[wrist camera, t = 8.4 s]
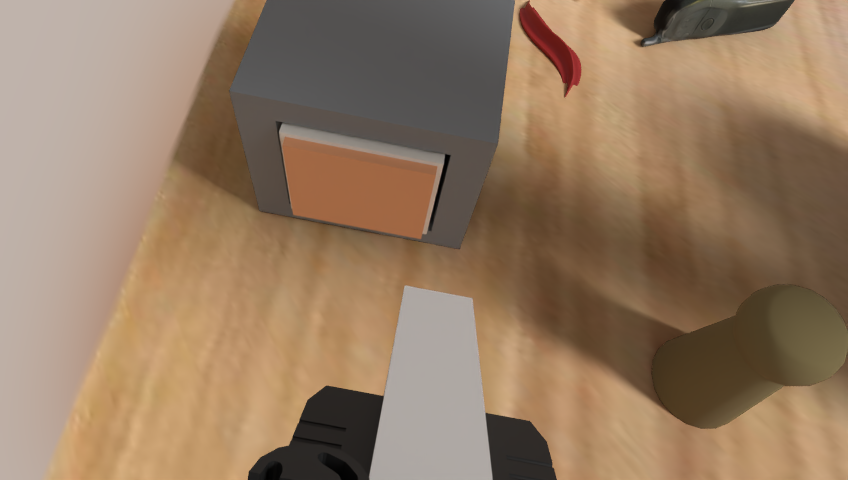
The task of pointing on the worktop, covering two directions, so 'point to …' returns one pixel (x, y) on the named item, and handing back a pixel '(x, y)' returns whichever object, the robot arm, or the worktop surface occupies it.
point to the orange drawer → (360, 180)
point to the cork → (750, 356)
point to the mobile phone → (714, 18)
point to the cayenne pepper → (551, 46)
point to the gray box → (379, 90)
